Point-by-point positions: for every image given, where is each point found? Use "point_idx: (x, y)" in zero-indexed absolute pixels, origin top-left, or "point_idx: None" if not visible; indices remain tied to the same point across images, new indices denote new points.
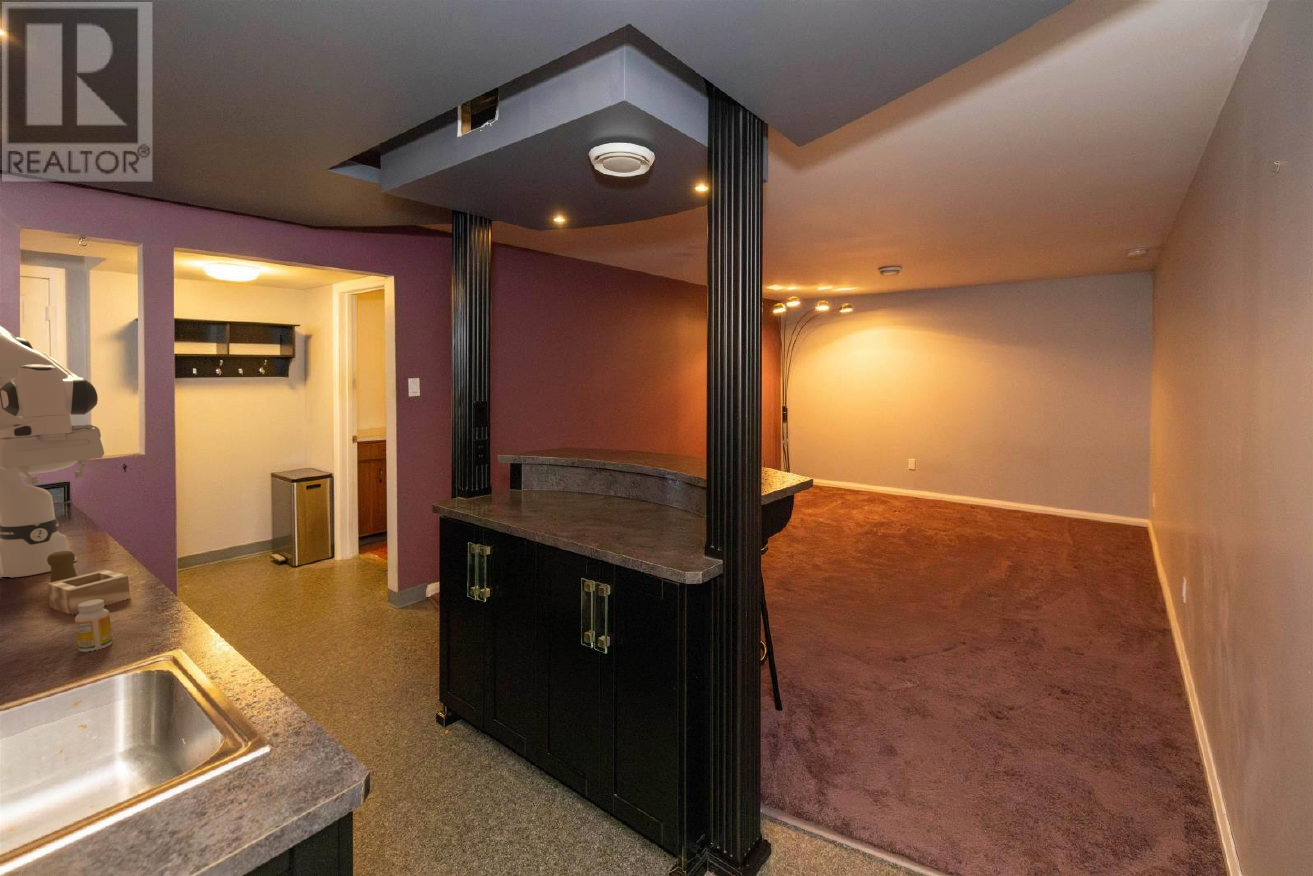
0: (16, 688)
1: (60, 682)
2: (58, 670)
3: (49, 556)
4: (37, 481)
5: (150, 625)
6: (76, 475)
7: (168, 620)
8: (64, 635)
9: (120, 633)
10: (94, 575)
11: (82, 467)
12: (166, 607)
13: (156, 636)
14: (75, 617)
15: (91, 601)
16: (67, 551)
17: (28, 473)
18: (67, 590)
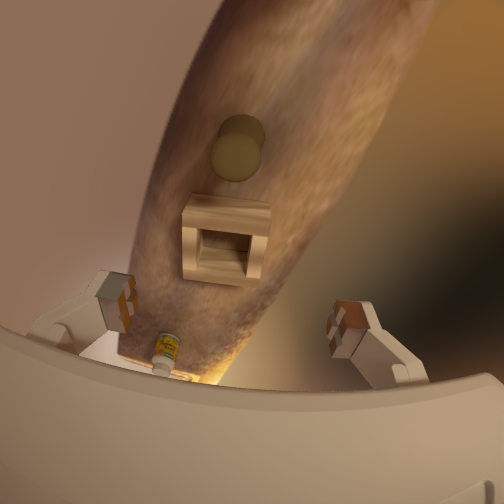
0: (120, 345)
1: (138, 357)
2: (141, 346)
3: (211, 159)
4: (134, 312)
5: (214, 340)
6: (337, 322)
7: (228, 343)
8: (162, 300)
9: (191, 334)
10: (244, 233)
11: (368, 372)
12: (251, 320)
13: (203, 356)
14: (152, 359)
15: (162, 371)
16: (245, 169)
17: (85, 347)
18: (183, 273)
